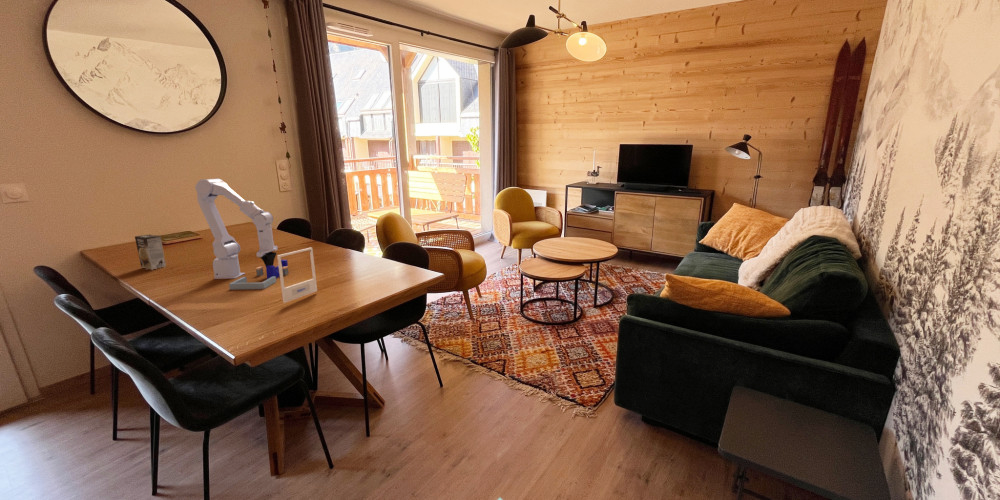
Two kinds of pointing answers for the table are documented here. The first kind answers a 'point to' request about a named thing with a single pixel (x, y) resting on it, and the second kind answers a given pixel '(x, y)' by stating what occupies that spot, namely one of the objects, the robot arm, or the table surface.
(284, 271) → the posts
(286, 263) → the blue stepped bar
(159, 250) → the coffee box
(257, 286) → the grey bent bracket
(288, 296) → the photo frame
